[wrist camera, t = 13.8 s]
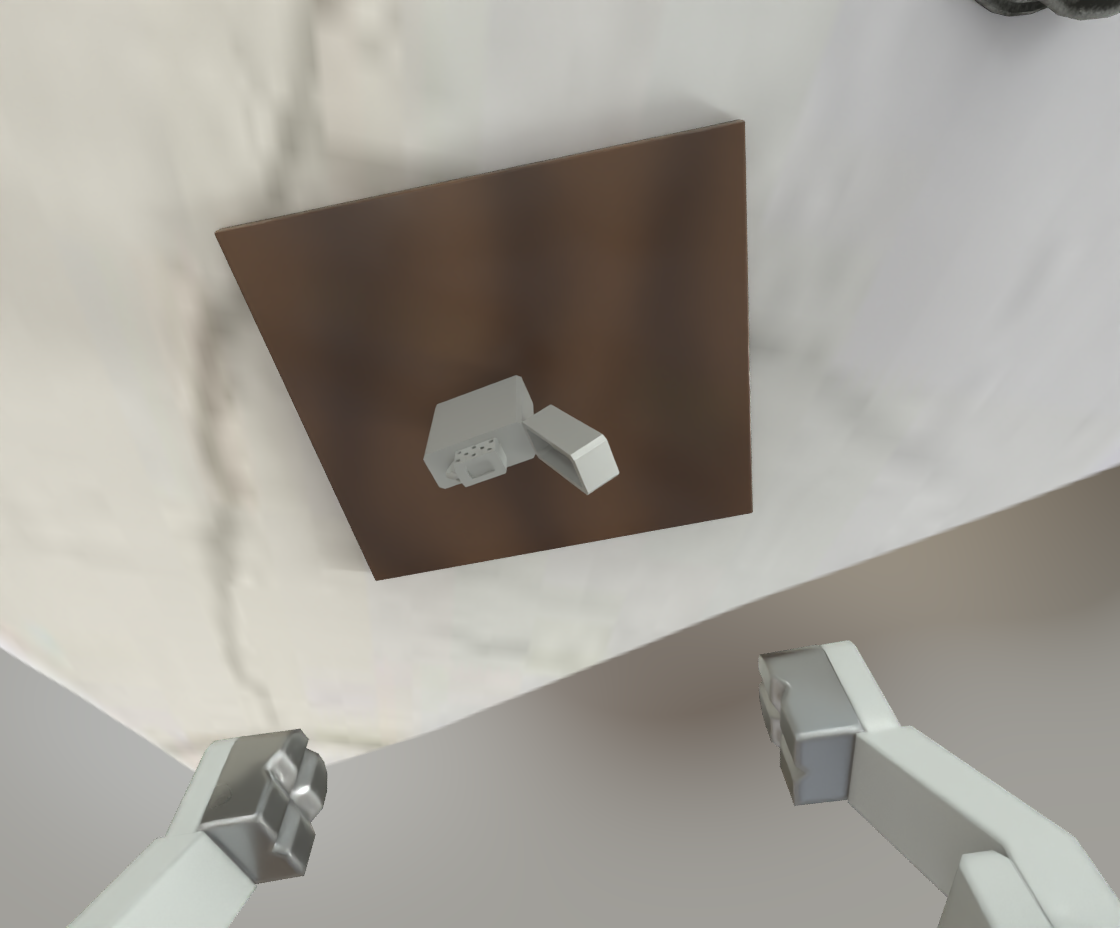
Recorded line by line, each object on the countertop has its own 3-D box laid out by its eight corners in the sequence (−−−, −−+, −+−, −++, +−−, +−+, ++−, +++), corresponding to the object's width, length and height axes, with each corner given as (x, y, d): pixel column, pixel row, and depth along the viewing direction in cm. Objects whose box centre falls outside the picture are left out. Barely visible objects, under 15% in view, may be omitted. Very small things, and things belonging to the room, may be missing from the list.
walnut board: (740, 119, 23) (745, 120, 22) (749, 506, 33) (753, 513, 32) (219, 228, 24) (212, 232, 23) (377, 573, 34) (375, 581, 33)
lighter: (450, 437, 29) (430, 550, 22) (433, 405, 28) (407, 514, 21) (597, 384, 28) (623, 485, 21) (584, 349, 27) (607, 444, 20)
